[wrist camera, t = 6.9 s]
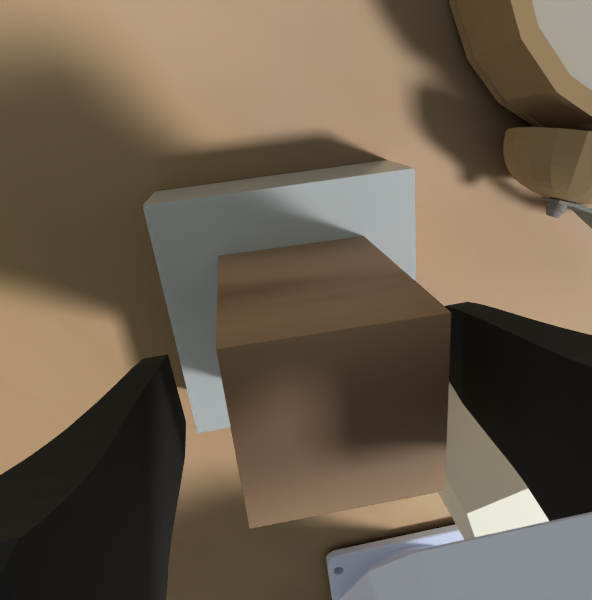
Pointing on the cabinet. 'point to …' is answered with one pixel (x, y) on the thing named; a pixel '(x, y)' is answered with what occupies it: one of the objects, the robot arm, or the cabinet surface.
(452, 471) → the cream block
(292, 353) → the walnut block
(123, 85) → the cabinet surface
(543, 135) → the alarm clock
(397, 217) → the grey stone block
